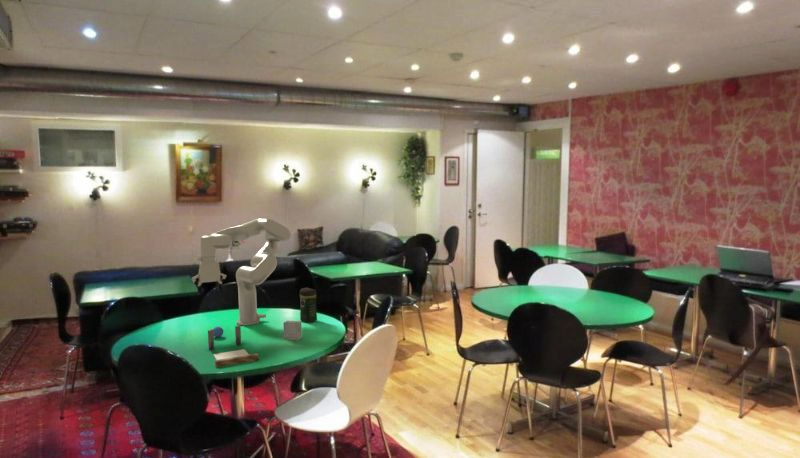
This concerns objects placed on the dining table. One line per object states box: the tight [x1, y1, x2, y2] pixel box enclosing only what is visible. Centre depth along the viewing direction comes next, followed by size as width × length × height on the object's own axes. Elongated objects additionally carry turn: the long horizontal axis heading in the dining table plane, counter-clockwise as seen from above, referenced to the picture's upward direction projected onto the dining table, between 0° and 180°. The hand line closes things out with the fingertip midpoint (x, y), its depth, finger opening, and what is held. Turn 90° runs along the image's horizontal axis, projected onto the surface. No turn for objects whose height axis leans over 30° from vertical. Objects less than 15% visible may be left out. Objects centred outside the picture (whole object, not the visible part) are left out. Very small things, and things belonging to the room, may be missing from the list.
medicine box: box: [282, 319, 303, 341], centre depth 272 cm, size 8×4×9 cm, turn 71°
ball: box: [212, 326, 224, 338], centre depth 276 cm, size 6×6×6 cm
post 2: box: [234, 325, 242, 347], centre depth 263 cm, size 2×2×9 cm
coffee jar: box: [299, 287, 318, 324], centre depth 304 cm, size 10×8×19 cm
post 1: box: [207, 329, 215, 351], centre depth 257 cm, size 2×2×9 cm
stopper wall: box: [214, 352, 260, 368], centre depth 238 cm, size 18×2×2 cm, turn 119°
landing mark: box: [213, 348, 250, 360], centre depth 246 cm, size 14×14×1 cm
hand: (209, 292), depth 283 cm, fingers open, 9 cm apart
